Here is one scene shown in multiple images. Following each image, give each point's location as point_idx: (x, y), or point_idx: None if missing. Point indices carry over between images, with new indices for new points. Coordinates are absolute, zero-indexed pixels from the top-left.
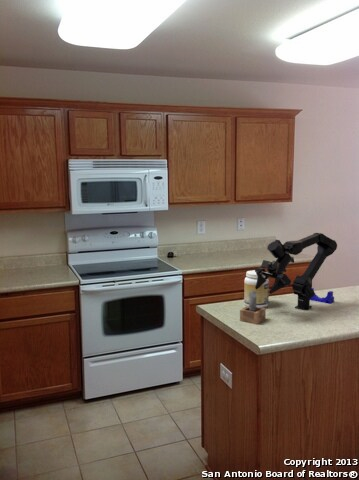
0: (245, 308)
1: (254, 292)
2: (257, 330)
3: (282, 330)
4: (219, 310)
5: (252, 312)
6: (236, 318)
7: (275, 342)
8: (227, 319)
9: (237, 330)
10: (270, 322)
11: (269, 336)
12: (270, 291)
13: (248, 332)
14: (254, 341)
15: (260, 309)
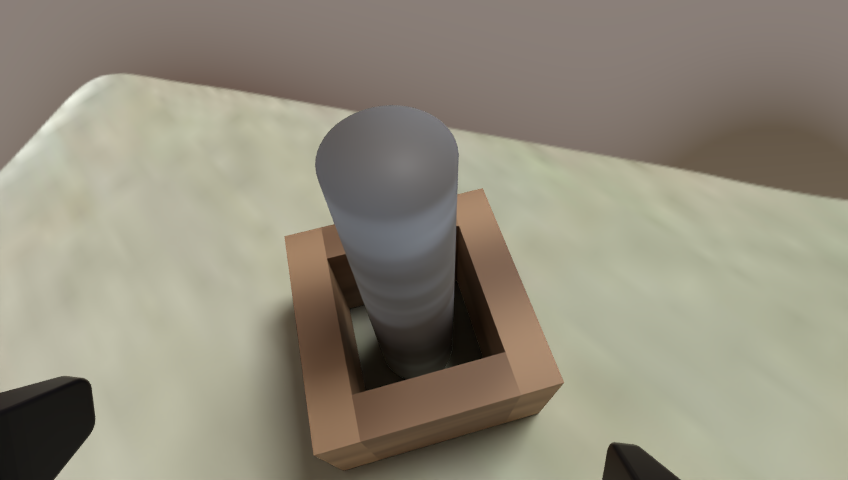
0: (488, 261)
1: (347, 160)
2: (235, 205)
3: (61, 346)
4: (845, 299)
5: None
6: (543, 265)
7: (37, 151)
8: (565, 198)
9: (342, 119)
10: (246, 429)
11: (109, 189)
12: (19, 390)
13: (264, 143)
14: (158, 87)
15: (340, 368)
